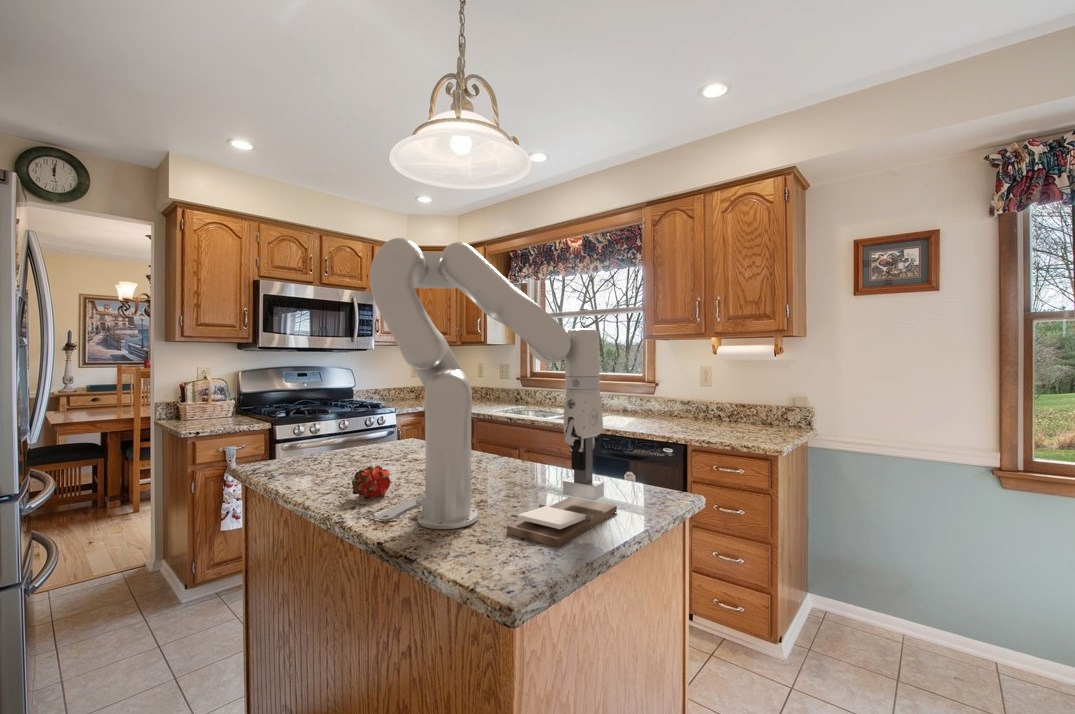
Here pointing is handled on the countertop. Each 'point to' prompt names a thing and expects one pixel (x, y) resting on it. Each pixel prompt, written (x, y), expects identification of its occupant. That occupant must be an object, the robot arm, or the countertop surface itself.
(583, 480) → the rubber stamp
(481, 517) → the countertop surface
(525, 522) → the board
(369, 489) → the dragon fruit
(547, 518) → the tile
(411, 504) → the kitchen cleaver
